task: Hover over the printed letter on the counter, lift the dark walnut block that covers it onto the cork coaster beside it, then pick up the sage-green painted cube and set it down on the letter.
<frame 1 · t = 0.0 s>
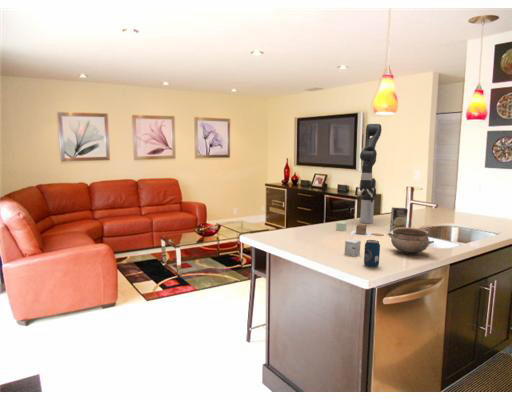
hand: (365, 202, 279), 17 cm above the worktop, tool pointing down, fingers open, 8 cm apart
soda can: (371, 266, 188), on the worktop
cooking pot: (408, 253, 211), on the worktop
coaster: (377, 235, 252), on the worktop
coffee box: (397, 232, 263), on the worktop
walnut block: (361, 233, 255), resting on letter
skincare box: (352, 254, 207), on the worktop
sage cube: (341, 230, 265), on the worktop
letter: (361, 234, 255), on the worktop
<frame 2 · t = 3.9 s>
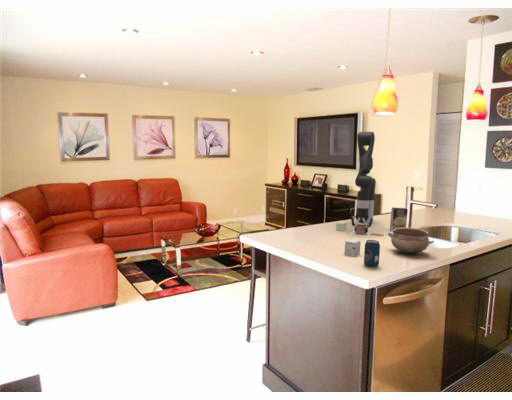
hand: (361, 232, 254), 1 cm above the worktop, tool pointing down, fingers closed on walnut block, 5 cm apart
walnut block: (361, 233, 255), resting on letter, touching gripper
everything else where it was.
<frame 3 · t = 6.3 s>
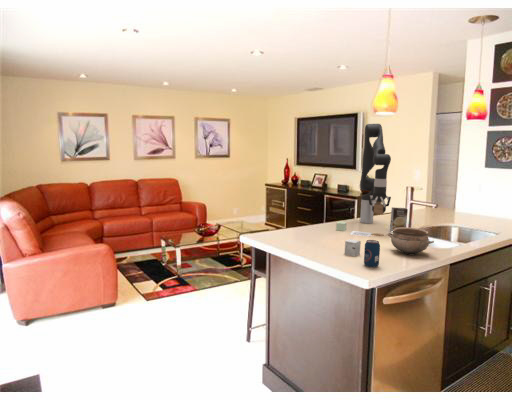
hand: (378, 212, 250), 15 cm above the worktop, tool pointing down, fingers closed on walnut block, 5 cm apart
walnut block: (378, 213, 250), point 14 cm above the worktop, touching gripper
everything else where it was.
when the fingers open (2 cm above the worktop, at t = 8.7 s): walnut block drops 1 cm, resting on coaster.
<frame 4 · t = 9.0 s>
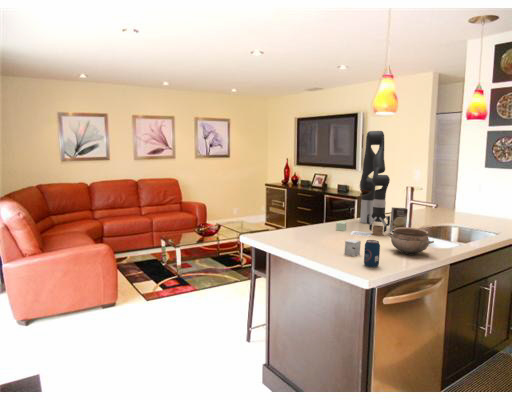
hand: (377, 231, 252), 3 cm above the worktop, tool pointing down, fingers open, 8 cm apart
walnut block: (377, 234, 252), resting on coaster
everything else where it was.
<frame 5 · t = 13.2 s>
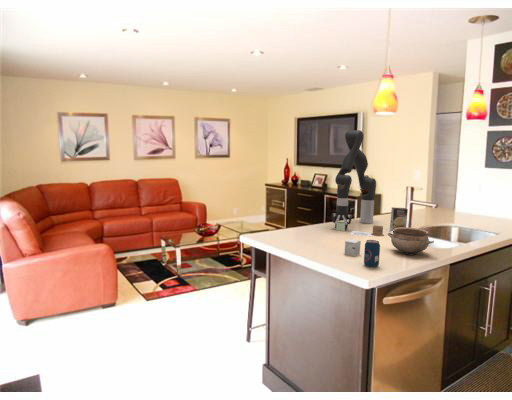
hand: (341, 229, 265), 1 cm above the worktop, tool pointing down, fingers closed on sage cube, 5 cm apart
sage cube: (341, 230, 265), on the worktop, touching gripper
everything else where it was.
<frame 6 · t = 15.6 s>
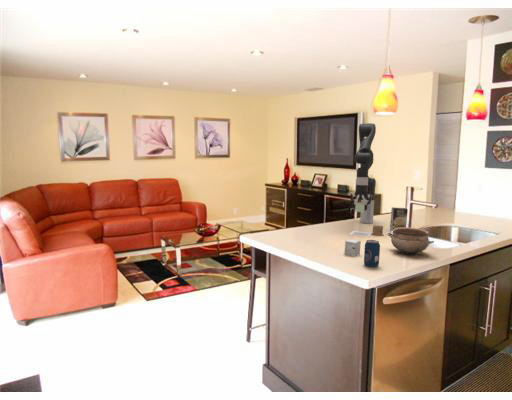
hand: (360, 210, 253), 16 cm above the worktop, tool pointing down, fingers closed on sage cube, 5 cm apart
sage cube: (360, 211, 253), point 15 cm above the worktop, touching gripper
everything else where it was.
when the fingers open (2 cm above the worktop, at t = 18.3 s): sage cube drops 1 cm, resting on letter.
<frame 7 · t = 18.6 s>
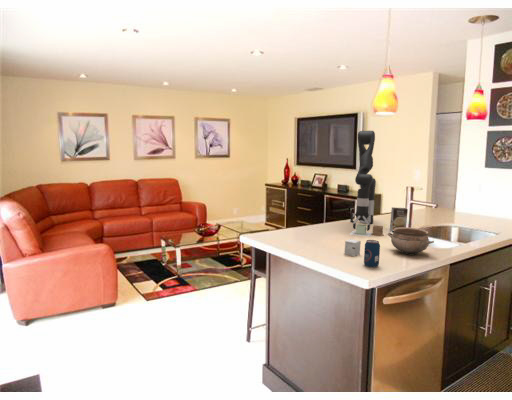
hand: (361, 229, 254), 3 cm above the worktop, tool pointing down, fingers open, 8 cm apart
sage cube: (361, 233, 255), resting on letter
everything else where it was.
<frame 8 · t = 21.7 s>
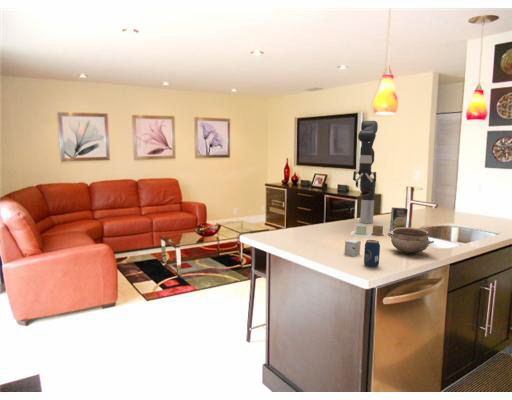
hand: (364, 187, 252), 30 cm above the worktop, tool pointing down, fingers open, 8 cm apart
nothing on the worktop moved.
at the end: sage cube inside the target area on the letter (0.0 cm from its centre), point 0.3 cm above the letter's base; walnut block inside the target area (1.0 cm from its centre), resting on coaster; the gripper is holding nothing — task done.
